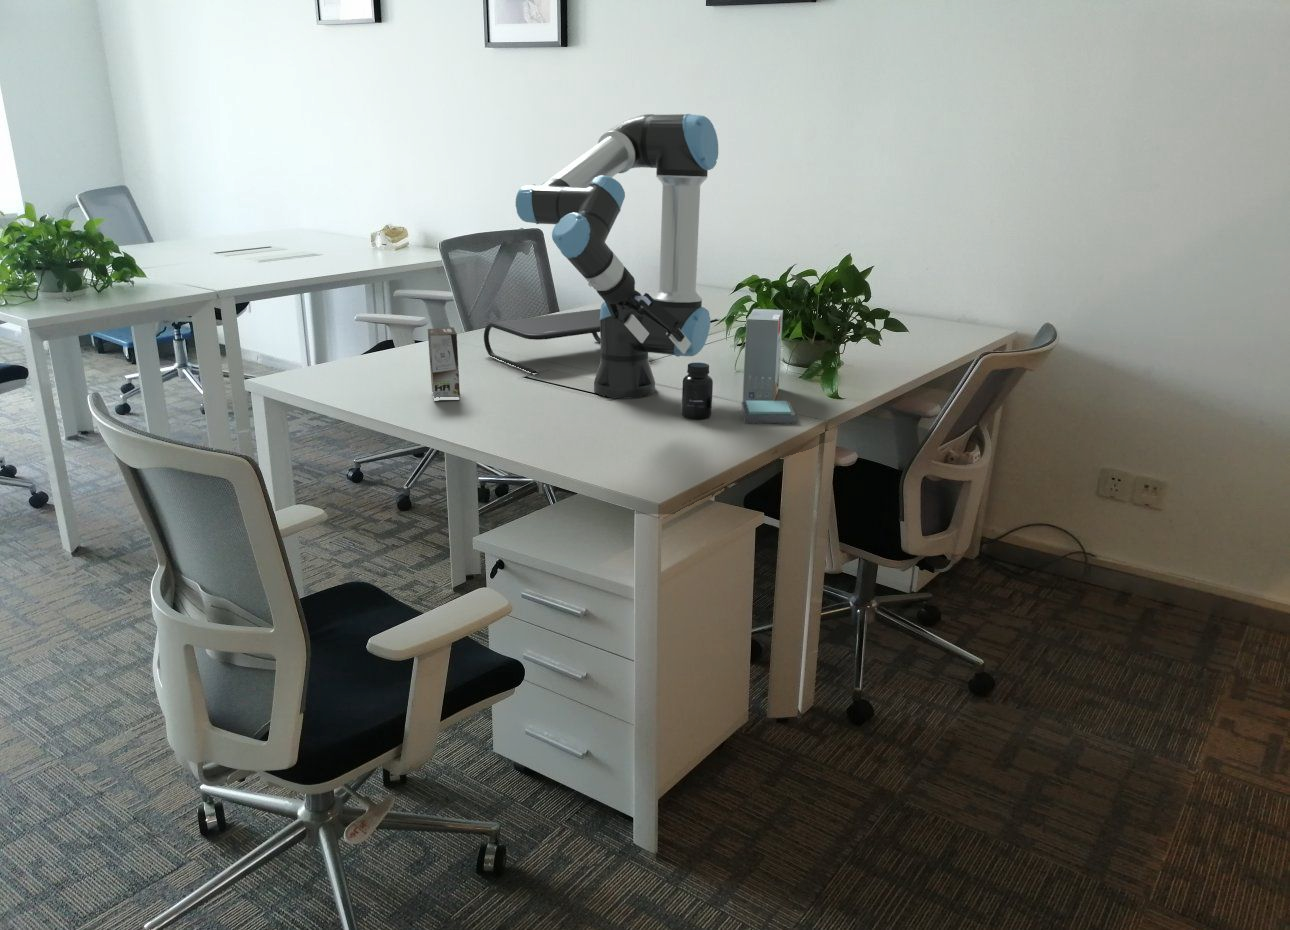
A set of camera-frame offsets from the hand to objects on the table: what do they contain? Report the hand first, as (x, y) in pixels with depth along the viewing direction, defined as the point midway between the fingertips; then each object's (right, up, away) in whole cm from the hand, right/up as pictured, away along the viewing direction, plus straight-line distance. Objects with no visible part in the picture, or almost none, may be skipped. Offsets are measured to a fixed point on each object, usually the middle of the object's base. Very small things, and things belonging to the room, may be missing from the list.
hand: (665, 343), depth 219 cm
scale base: (+23, -15, +13) cm, 31 cm away
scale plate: (+23, -14, +13) cm, 30 cm away
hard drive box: (+24, -9, +31) cm, 40 cm away
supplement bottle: (+7, -15, +13) cm, 22 cm away
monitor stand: (-27, +4, +70) cm, 75 cm away
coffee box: (-52, -10, +29) cm, 61 cm away
